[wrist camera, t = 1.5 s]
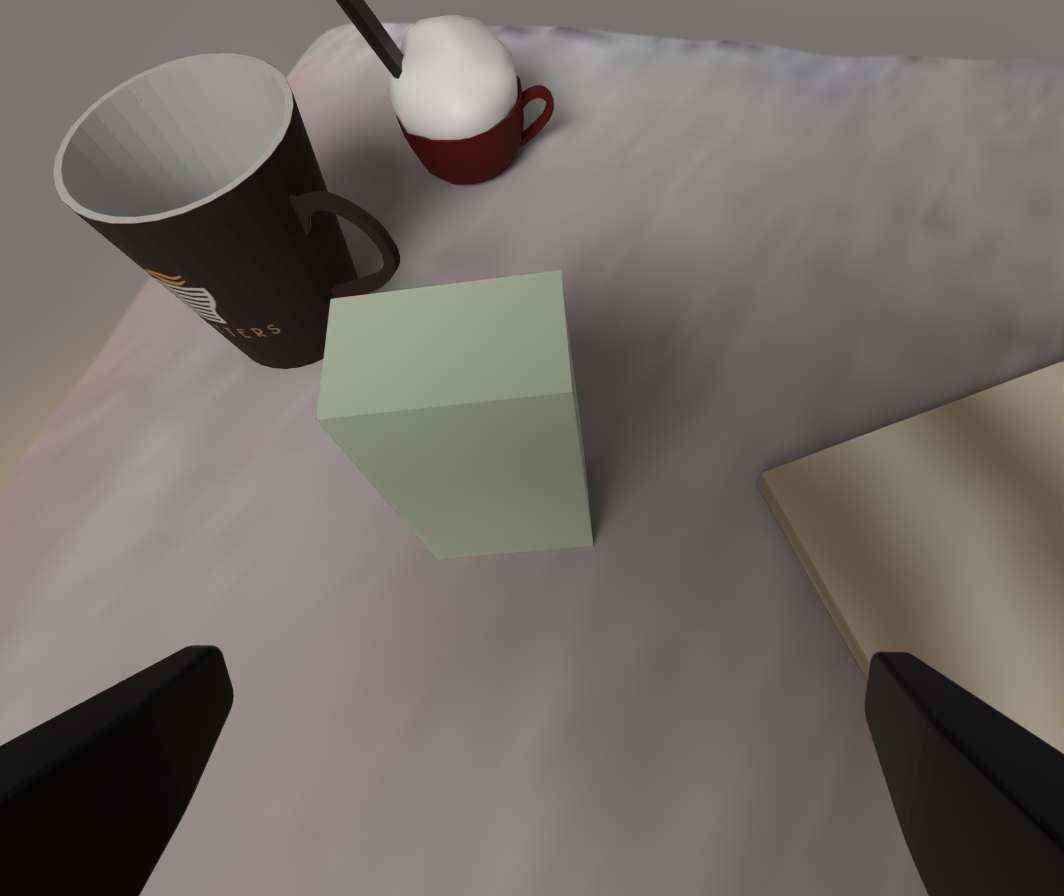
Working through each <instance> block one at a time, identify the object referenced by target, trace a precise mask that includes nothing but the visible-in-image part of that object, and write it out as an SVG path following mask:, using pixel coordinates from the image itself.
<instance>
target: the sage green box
mask: <svg viewBox="0 0 1064 896" xmlns="http://www.w3.org/2000/svg"><path fill="white" fill-rule="evenodd" d="M316 420H317V421H318V422H319V423H320V425H321V426H322V427H323V428H324V429H325V430H326V432H327V433H328V434H329V435H330V436H331V437H332V438H333V440H334V441H335V442H336V443H337V444H338V445H339V447H340V448H341V449H342V450H343V451H344V452H345V454H346V455H347V456H348V457H349V458H350V459H351V461H352V462H353V463H354V464H355V465H356V466H357V468H358V469H359V470H360V471H361V472H362V473H363V475H364V476H365V477H366V478H367V479H368V480H369V482H370V483H371V484H372V485H373V486H374V487H375V488H376V490H377V491H378V492H379V493H380V494H381V495H382V497H383V498H384V499H385V500H386V501H387V502H388V504H389V505H390V506H391V507H392V508H393V509H394V511H395V512H396V513H397V514H398V515H399V516H400V518H401V519H402V520H403V521H404V522H405V523H406V525H407V526H408V527H409V528H410V529H411V530H412V532H413V533H414V534H415V535H416V536H417V537H418V539H419V540H420V541H421V542H422V543H423V544H424V545H425V547H426V548H427V549H428V550H429V551H430V552H431V554H432V555H433V556H434V557H435V558H436V559H437V560H438V559H450V558H461V557H473V556H484V555H496V554H507V553H519V552H530V551H542V550H554V549H565V548H577V547H588V546H593V537H592V526H591V516H590V505H589V495H588V484H587V473H586V463H585V454H584V446H583V438H582V430H581V422H580V415H579V407H578V399H577V391H576V383H575V375H574V367H573V359H572V351H571V343H570V335H569V327H568V319H567V311H566V303H565V295H564V288H563V280H562V272H561V270H557V271H549V272H541V273H533V274H525V275H517V276H509V277H501V278H493V279H485V280H477V281H469V282H461V283H454V284H446V285H438V286H430V287H422V288H414V289H406V290H398V291H390V292H382V293H374V294H366V295H358V296H350V297H342V298H334V299H331V300H330V309H329V317H328V326H327V334H326V343H325V351H324V359H323V368H322V376H321V385H320V393H319V402H318V410H317V419H316Z"/></svg>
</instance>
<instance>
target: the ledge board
mask: <svg viewBox="0 0 1064 896" xmlns="http://www.w3.org/2000/svg"><path fill="white" fill-rule="evenodd" d="M757 486H758V487H759V489H760V491H761V493H762V494H763V496H764V498H765V500H766V502H767V503H768V505H769V507H770V509H771V510H772V512H773V514H774V516H775V518H776V519H777V521H778V523H779V525H780V526H781V528H782V530H783V532H784V534H785V535H786V537H787V539H788V541H789V542H790V544H791V546H792V548H793V550H794V551H795V553H796V555H797V557H798V559H799V560H800V562H801V564H802V566H803V567H804V569H805V571H806V573H807V575H808V576H809V578H810V580H811V582H812V583H813V585H814V587H815V589H816V591H817V592H818V594H819V596H820V598H821V599H822V601H823V603H824V605H825V607H826V608H827V610H828V612H829V614H830V615H831V617H832V619H833V621H834V623H835V624H836V626H837V628H838V630H839V631H840V633H841V635H842V637H843V639H844V640H845V642H846V644H847V646H848V647H849V649H850V651H851V653H852V655H853V656H854V658H855V660H856V662H857V663H858V665H859V667H860V669H861V671H862V672H863V674H864V676H865V678H866V680H867V681H868V674H869V667H870V661H871V658H872V656H873V654H875V653H876V652H879V651H887V652H908V653H910V654H912V655H914V656H916V657H917V658H919V659H920V660H922V661H923V662H925V663H926V664H928V665H929V666H931V667H932V668H934V669H935V670H937V671H939V672H940V673H942V674H943V675H945V676H946V677H948V678H949V679H951V680H952V681H954V682H955V683H957V684H958V685H960V686H961V687H963V688H964V689H966V690H967V691H969V692H970V693H972V694H974V695H975V696H977V697H978V698H980V699H981V700H983V701H984V702H986V703H987V704H989V705H990V706H992V707H993V708H995V709H996V710H998V711H999V712H1001V713H1002V714H1004V715H1006V716H1007V717H1009V718H1010V719H1012V720H1013V721H1015V722H1016V723H1018V724H1019V725H1021V726H1022V727H1024V728H1025V729H1027V730H1028V731H1030V732H1031V733H1033V734H1034V735H1036V736H1037V737H1039V738H1041V739H1042V740H1044V741H1045V742H1047V743H1048V744H1050V745H1051V746H1053V747H1054V748H1056V749H1057V750H1059V751H1060V752H1062V753H1063V754H1064V361H1062V362H1059V363H1056V364H1054V365H1051V366H1048V367H1046V368H1043V369H1040V370H1038V371H1035V372H1032V373H1029V374H1027V375H1024V376H1021V377H1019V378H1016V379H1013V380H1011V381H1008V382H1005V383H1002V384H1000V385H997V386H994V387H992V388H989V389H986V390H983V391H981V392H978V393H975V394H973V395H970V396H967V397H965V398H962V399H959V400H956V401H954V402H951V403H948V404H946V405H943V406H940V407H938V408H935V409H932V410H929V411H927V412H924V413H921V414H919V415H916V416H913V417H911V418H908V419H905V420H902V421H900V422H897V423H894V424H892V425H889V426H886V427H883V428H881V429H878V430H875V431H873V432H870V433H867V434H865V435H862V436H859V437H856V438H854V439H851V440H848V441H846V442H843V443H840V444H838V445H835V446H832V447H829V448H827V449H824V450H821V451H819V452H816V453H813V454H811V455H808V456H805V457H802V458H800V459H797V460H794V461H792V462H789V463H786V464H784V465H781V466H778V467H775V468H773V469H770V470H767V471H765V472H762V473H761V475H760V477H759V479H758V481H757Z"/></svg>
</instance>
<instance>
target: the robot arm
mask: <svg viewBox="0 0 1064 896" xmlns="http://www.w3.org/2000/svg"><path fill="white" fill-rule="evenodd" d="M233 697H234V695H233V687H232V684H231V681H230V677H229V674H228V670H227V667H226V664H225V660H224V657H223V654H222V651H221V650H220V649H219V648H218V647H216V646H212V645H193V646H188V647H185V648H183V649H181V650H180V651H178V652H176V653H174V654H172V655H170V656H168V657H166V658H165V659H163V660H161V661H159V662H157V663H155V664H153V665H151V666H150V667H148V668H146V669H144V670H142V671H140V672H138V673H136V674H134V675H133V676H131V677H129V678H127V679H125V680H123V681H121V682H119V683H118V684H116V685H114V686H112V687H110V688H108V689H106V690H104V691H103V692H101V693H99V694H97V695H95V696H93V697H91V698H89V699H88V700H86V701H84V702H82V703H80V704H78V705H76V706H74V707H73V708H71V709H69V710H67V711H65V712H63V713H61V714H59V715H58V716H56V717H54V718H52V719H50V720H48V721H46V722H44V723H42V724H41V725H39V726H37V727H35V728H33V729H31V730H29V731H27V732H26V733H24V734H22V735H20V736H18V737H16V738H14V739H12V740H11V741H9V742H7V743H5V744H3V745H1V746H0V896H139V895H140V893H141V892H142V890H143V888H144V886H145V884H146V882H147V881H148V879H149V877H150V875H151V873H152V872H153V870H154V868H155V866H156V864H157V863H158V861H159V859H160V857H161V855H162V854H163V852H164V850H165V848H166V846H167V844H168V843H169V841H170V839H171V837H172V835H173V834H174V832H175V830H176V828H177V826H178V824H179V822H180V821H181V819H182V817H183V815H184V813H185V811H186V809H187V807H188V805H189V803H190V800H191V798H192V796H193V794H194V792H195V790H196V788H197V785H198V783H199V781H200V778H201V776H202V774H203V772H204V769H205V767H206V765H207V762H208V760H209V758H210V756H211V753H212V751H213V749H214V747H215V744H216V742H217V740H218V737H219V735H220V733H221V731H222V728H223V726H224V724H225V721H226V719H227V717H228V715H229V712H230V710H231V707H232V704H233ZM865 714H866V720H867V723H868V726H869V730H870V733H871V736H872V739H873V742H874V745H875V748H876V752H877V755H878V758H879V761H880V764H881V767H882V771H883V774H884V777H885V780H886V783H887V786H888V789H889V793H890V796H891V799H892V802H893V805H894V808H895V811H896V815H897V818H898V821H899V824H900V827H901V830H902V833H903V835H904V838H905V841H906V844H907V846H908V848H909V851H910V853H911V856H912V858H913V861H914V863H915V865H916V868H917V870H918V872H919V875H920V877H921V879H922V881H923V884H924V886H925V888H926V891H927V893H928V895H929V896H1064V754H1063V753H1062V752H1060V751H1059V750H1057V749H1056V748H1054V747H1053V746H1051V745H1050V744H1048V743H1047V742H1045V741H1044V740H1042V739H1041V738H1039V737H1037V736H1036V735H1034V734H1033V733H1031V732H1030V731H1028V730H1027V729H1025V728H1024V727H1022V726H1021V725H1019V724H1018V723H1016V722H1015V721H1013V720H1012V719H1010V718H1009V717H1007V716H1006V715H1004V714H1002V713H1001V712H999V711H998V710H996V709H995V708H993V707H992V706H990V705H989V704H987V703H986V702H984V701H983V700H981V699H980V698H978V697H977V696H975V695H974V694H972V693H970V692H969V691H967V690H966V689H964V688H963V687H961V686H960V685H958V684H957V683H955V682H954V681H952V680H951V679H949V678H948V677H946V676H945V675H943V674H942V673H940V672H939V671H937V670H935V669H934V668H932V667H931V666H929V665H928V664H926V663H925V662H923V661H922V660H920V659H919V658H917V657H916V656H914V655H912V654H910V653H908V652H887V651H879V652H876V653H875V654H873V656H872V658H871V661H870V667H869V674H868V682H867V689H866V696H865Z"/></svg>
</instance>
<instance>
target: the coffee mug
mask: <svg viewBox="0 0 1064 896" xmlns="http://www.w3.org/2000/svg"><path fill="white" fill-rule="evenodd" d="M53 176H54V183H55V188H56V190H57V192H58V194H59V196H60V198H61V199H62V201H63V202H64V203H65V204H66V205H67V206H69V207H70V208H71V209H72V210H73V211H74V212H75V213H77V214H78V215H79V216H80V217H81V218H83V219H84V220H85V221H86V222H87V223H89V224H90V225H91V226H92V227H93V228H95V229H96V230H97V231H98V232H99V233H101V234H102V235H103V236H104V237H105V238H107V239H108V240H109V241H110V242H111V243H113V244H114V245H115V246H116V247H118V248H119V249H120V250H121V251H122V252H124V253H125V254H126V255H127V256H128V257H129V258H131V259H132V260H133V261H134V262H135V263H137V264H138V265H139V266H140V267H141V268H143V269H144V270H145V271H146V272H147V273H149V274H150V275H151V276H152V277H153V278H155V279H156V280H157V281H158V282H159V283H161V284H162V285H163V286H164V287H165V288H167V289H168V290H169V291H170V292H171V293H173V294H174V295H175V296H176V297H177V298H179V299H180V300H181V301H182V302H183V303H185V304H186V305H187V306H188V307H189V308H191V309H192V310H193V311H194V312H195V313H197V314H198V315H199V316H200V317H201V318H203V319H204V320H205V321H206V322H207V323H209V324H210V325H211V326H212V327H213V328H215V329H216V330H217V331H218V332H219V333H221V334H222V335H223V336H224V337H225V338H227V339H228V340H229V341H230V342H231V343H233V344H234V345H235V346H236V347H238V348H239V349H240V350H241V351H242V352H244V353H245V354H246V355H247V356H248V357H250V358H251V359H252V360H253V361H255V362H257V363H259V364H261V365H264V366H267V367H271V368H281V369H289V368H297V367H302V366H305V365H309V364H312V363H314V362H317V361H319V360H321V359H323V358H324V351H325V343H326V334H327V326H328V317H329V309H330V300H331V299H334V298H342V297H350V296H358V295H363V294H364V293H367V292H370V291H374V290H377V289H379V288H380V287H382V286H383V285H384V284H385V283H387V282H388V281H389V280H390V279H391V277H392V276H393V274H394V273H395V271H396V270H397V268H398V266H399V264H400V255H399V251H398V248H397V246H396V244H395V243H394V241H393V240H392V238H391V237H390V235H389V234H388V232H387V231H386V229H385V228H384V227H383V226H382V225H381V224H380V222H379V221H378V220H376V219H375V218H374V217H373V216H371V215H370V214H369V213H367V212H366V211H365V210H363V209H362V208H360V207H359V206H357V205H356V204H354V203H352V202H350V201H348V200H346V199H344V198H342V197H340V196H337V195H335V194H333V193H330V192H328V191H327V188H326V186H325V183H324V180H323V177H322V174H321V171H320V169H319V166H318V163H317V160H316V157H315V155H314V152H313V149H312V146H311V143H310V140H309V138H308V135H307V132H306V129H305V126H304V124H303V121H302V118H301V115H300V112H299V109H298V107H297V104H296V101H295V98H294V95H293V93H292V90H291V88H290V86H289V84H288V82H287V80H286V78H285V77H284V76H283V75H282V74H281V73H280V72H279V71H278V70H277V68H275V67H274V66H272V65H270V64H268V63H267V62H265V61H263V60H261V59H257V58H254V57H250V56H247V55H241V54H232V53H213V54H203V55H196V56H190V57H185V58H181V59H178V60H174V61H171V62H167V63H164V64H161V65H159V66H156V67H154V68H151V69H149V70H146V71H144V72H142V73H140V74H138V75H136V76H134V77H132V78H130V79H128V80H126V81H125V82H123V83H121V84H120V85H118V86H117V87H115V88H114V89H112V90H111V91H109V92H108V93H107V94H105V95H103V96H102V97H101V98H100V99H99V100H97V101H96V102H95V103H94V104H93V105H92V106H90V107H89V108H88V109H87V110H86V111H85V112H84V113H83V114H82V115H81V116H80V118H79V119H78V120H77V121H76V122H75V123H74V124H73V125H72V127H71V128H70V130H69V131H68V133H67V135H66V136H65V138H64V139H63V141H62V143H61V145H60V148H59V150H58V152H57V155H56V157H55V163H54V170H53ZM336 214H337V215H340V216H342V217H344V218H345V219H347V220H349V221H350V222H352V223H353V224H355V225H356V226H358V227H359V228H360V229H362V230H363V231H364V232H365V233H366V234H367V235H368V236H369V237H370V238H371V239H372V240H373V241H374V243H375V244H376V245H377V246H378V248H379V250H380V251H381V253H382V256H383V260H384V266H383V268H382V269H381V270H380V271H379V272H377V273H375V274H372V275H369V276H366V277H363V278H360V279H358V276H357V273H356V270H355V267H354V264H353V262H352V259H351V256H350V253H349V250H348V248H347V245H346V242H345V239H344V236H343V233H342V231H341V228H340V225H339V222H338V219H337V217H336Z"/></svg>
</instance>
